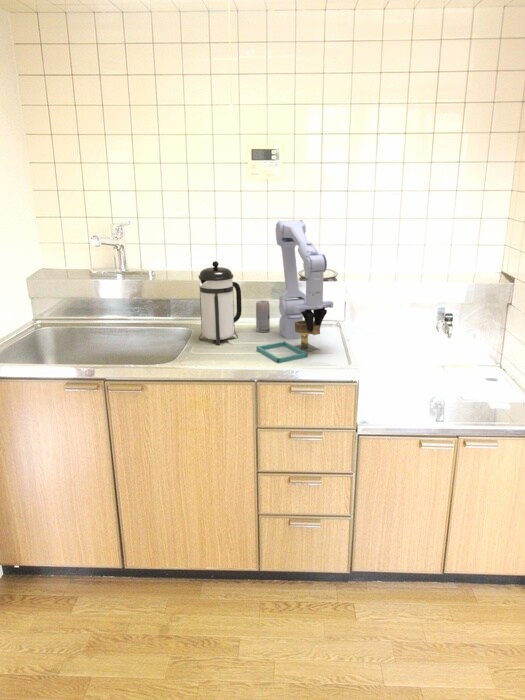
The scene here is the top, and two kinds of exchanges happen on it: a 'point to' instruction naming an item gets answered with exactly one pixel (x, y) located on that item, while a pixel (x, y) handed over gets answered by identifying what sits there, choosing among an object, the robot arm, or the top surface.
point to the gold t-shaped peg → (304, 340)
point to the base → (310, 348)
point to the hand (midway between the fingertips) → (313, 330)
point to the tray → (300, 355)
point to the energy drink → (262, 316)
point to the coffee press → (218, 303)
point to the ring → (302, 328)
